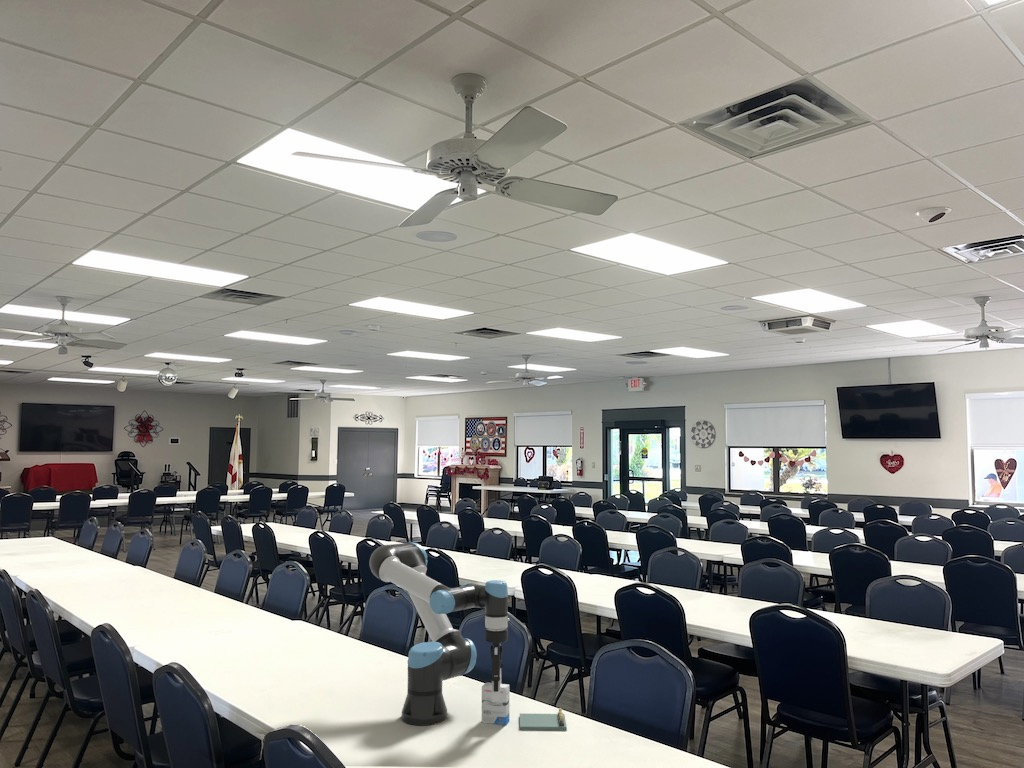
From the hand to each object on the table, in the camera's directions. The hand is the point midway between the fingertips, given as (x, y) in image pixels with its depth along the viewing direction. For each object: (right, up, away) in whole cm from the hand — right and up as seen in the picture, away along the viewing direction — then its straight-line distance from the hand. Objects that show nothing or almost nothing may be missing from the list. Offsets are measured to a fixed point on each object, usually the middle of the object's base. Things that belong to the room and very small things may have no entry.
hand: (496, 694), depth 239 cm
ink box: (0, -9, -1) cm, 9 cm away
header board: (+15, -9, -2) cm, 17 cm away
